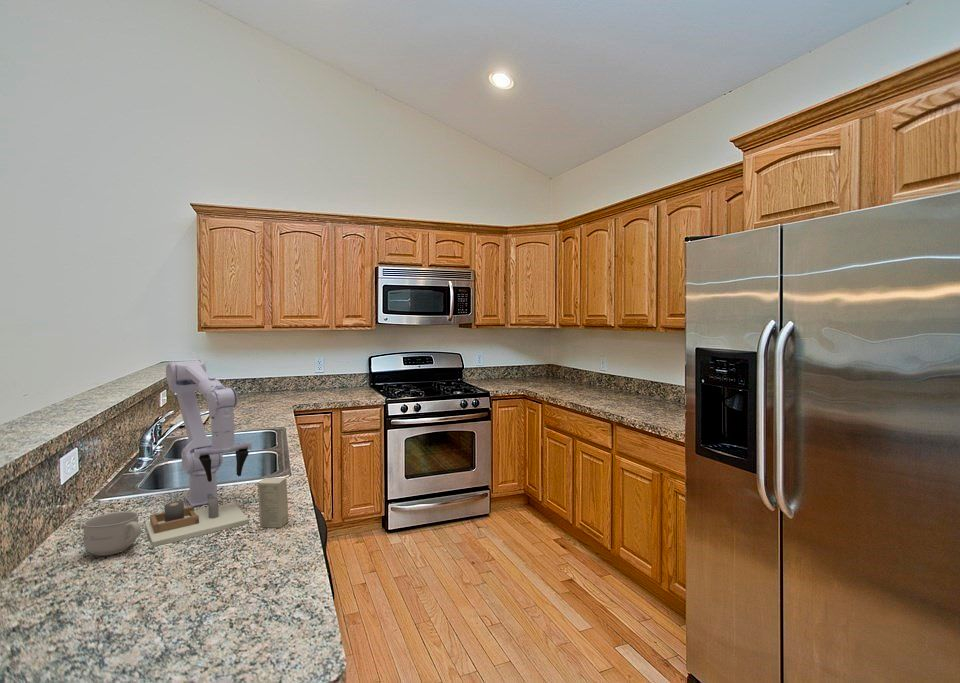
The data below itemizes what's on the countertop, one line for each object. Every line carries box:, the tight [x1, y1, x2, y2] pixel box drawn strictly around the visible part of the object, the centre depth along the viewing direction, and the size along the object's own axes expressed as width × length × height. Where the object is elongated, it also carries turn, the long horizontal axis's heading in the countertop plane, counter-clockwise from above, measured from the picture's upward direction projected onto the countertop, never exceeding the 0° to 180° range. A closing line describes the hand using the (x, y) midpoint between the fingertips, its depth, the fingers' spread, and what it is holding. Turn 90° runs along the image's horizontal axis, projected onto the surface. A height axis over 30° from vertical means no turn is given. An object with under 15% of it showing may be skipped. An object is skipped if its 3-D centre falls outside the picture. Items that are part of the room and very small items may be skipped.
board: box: [144, 494, 250, 548], centre depth 136 cm, size 16×22×6 cm
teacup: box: [82, 510, 142, 557], centre depth 121 cm, size 14×11×8 cm
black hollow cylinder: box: [163, 501, 185, 522], centre depth 134 cm, size 4×4×5 cm
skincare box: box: [257, 477, 289, 529], centre depth 135 cm, size 6×4×12 cm
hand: (224, 478), depth 144 cm, fingers open, 7 cm apart
